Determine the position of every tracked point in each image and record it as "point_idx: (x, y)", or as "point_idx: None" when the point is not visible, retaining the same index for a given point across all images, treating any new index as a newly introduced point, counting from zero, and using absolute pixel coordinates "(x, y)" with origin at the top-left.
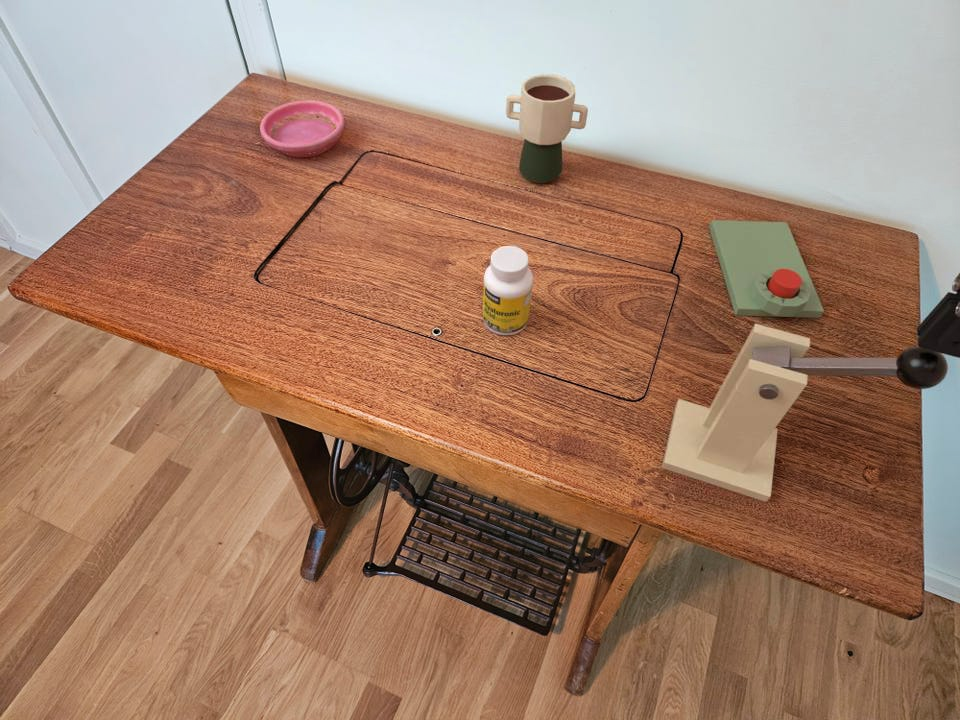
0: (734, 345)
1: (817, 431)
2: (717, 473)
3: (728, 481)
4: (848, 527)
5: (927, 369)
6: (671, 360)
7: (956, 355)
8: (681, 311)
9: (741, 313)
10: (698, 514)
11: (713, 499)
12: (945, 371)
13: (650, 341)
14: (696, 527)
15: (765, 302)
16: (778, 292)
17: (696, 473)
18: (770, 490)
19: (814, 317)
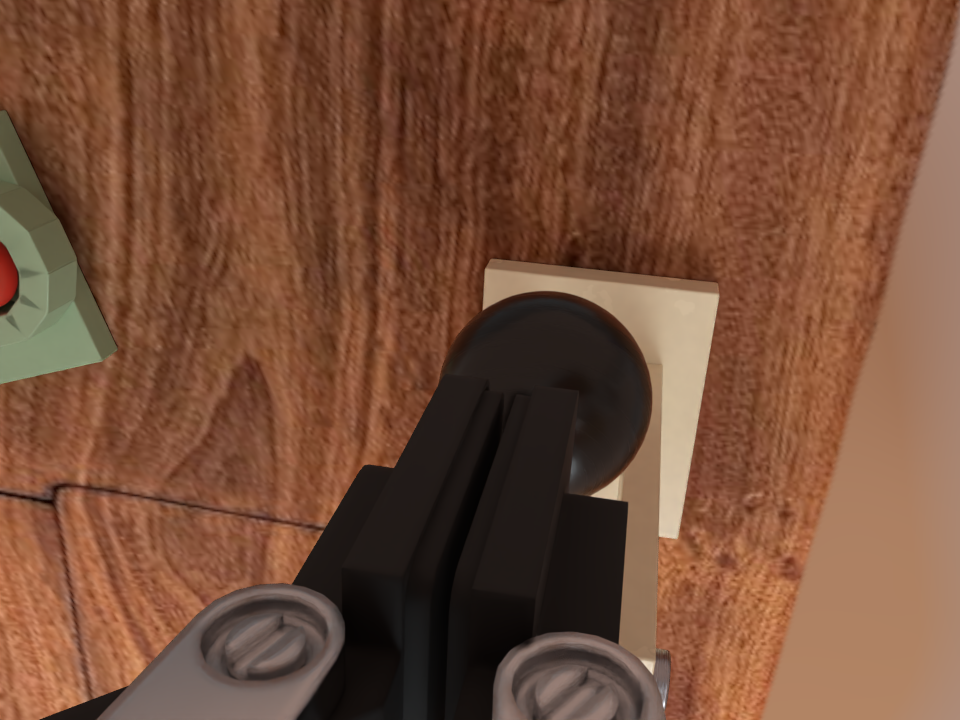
0: (224, 351)
1: (437, 133)
2: (679, 423)
3: (697, 398)
4: (747, 57)
5: (616, 455)
6: (341, 500)
7: (574, 433)
8: (170, 478)
9: (106, 339)
10: (791, 441)
11: (739, 407)
12: (589, 355)
13: (302, 546)
14: (830, 445)
15: (54, 311)
16: (5, 290)
17: (689, 467)
18: (699, 294)
19: (13, 128)
